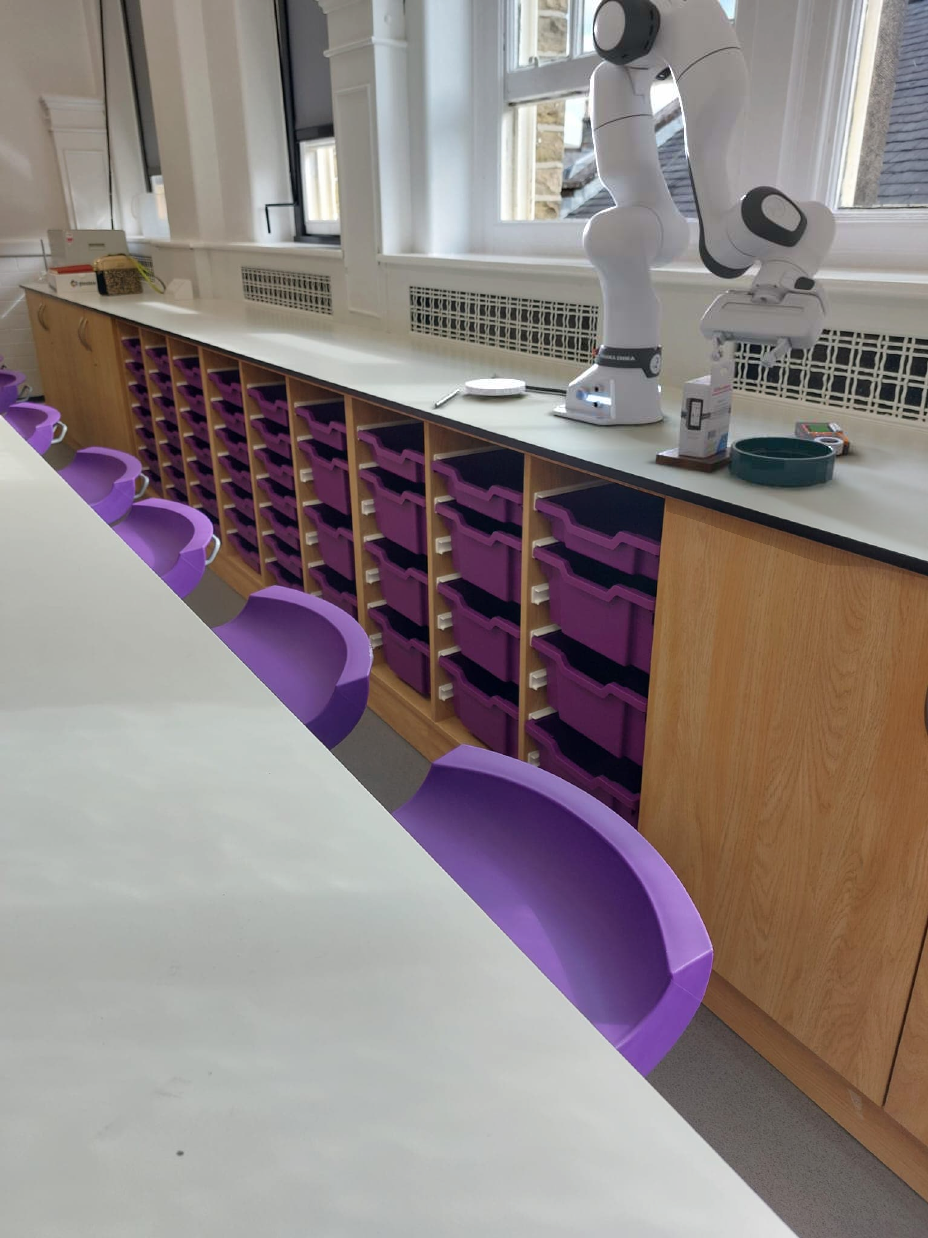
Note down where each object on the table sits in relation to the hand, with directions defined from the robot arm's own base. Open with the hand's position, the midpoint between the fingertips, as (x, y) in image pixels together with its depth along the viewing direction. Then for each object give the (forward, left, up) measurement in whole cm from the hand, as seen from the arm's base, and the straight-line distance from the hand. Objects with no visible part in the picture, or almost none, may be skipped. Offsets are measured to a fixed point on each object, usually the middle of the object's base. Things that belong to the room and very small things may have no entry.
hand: (739, 361), depth 144 cm
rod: (-73, +5, -15) cm, 74 cm away
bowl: (+13, -9, -15) cm, 22 cm away
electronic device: (+10, +14, -15) cm, 23 cm away
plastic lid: (-69, +18, -15) cm, 73 cm away
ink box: (-1, -9, -14) cm, 16 cm away
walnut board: (-1, -8, -15) cm, 17 cm away
